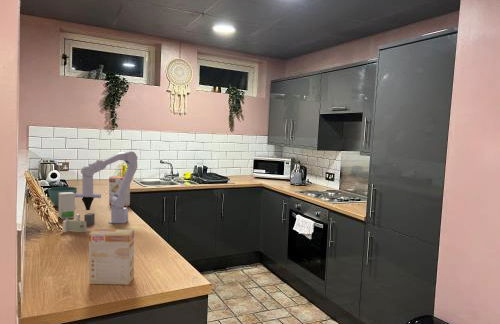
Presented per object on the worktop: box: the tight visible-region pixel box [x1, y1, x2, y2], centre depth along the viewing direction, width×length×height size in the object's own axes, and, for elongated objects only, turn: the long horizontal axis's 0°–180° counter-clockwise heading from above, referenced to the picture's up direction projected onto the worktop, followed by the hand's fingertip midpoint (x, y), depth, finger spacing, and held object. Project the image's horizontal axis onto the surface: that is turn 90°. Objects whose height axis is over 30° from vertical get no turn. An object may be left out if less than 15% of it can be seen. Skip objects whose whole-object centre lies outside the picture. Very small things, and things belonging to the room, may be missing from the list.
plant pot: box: [47, 186, 78, 208], centre depth 261 cm, size 18×18×12 cm
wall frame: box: [62, 213, 81, 233], centre depth 209 cm, size 2×18×6 cm, turn 0°
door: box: [68, 219, 87, 233], centre depth 202 cm, size 2×10×6 cm, turn 81°
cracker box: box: [108, 175, 131, 207], centre depth 269 cm, size 14×6×21 cm, turn 73°
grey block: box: [83, 212, 96, 226], centre depth 218 cm, size 4×5×6 cm
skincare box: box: [57, 192, 76, 220], centre depth 230 cm, size 8×7×16 cm
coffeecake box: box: [88, 228, 135, 286], centre depth 141 cm, size 15×7×20 cm, turn 92°
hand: (88, 209), depth 214 cm, fingers closed
